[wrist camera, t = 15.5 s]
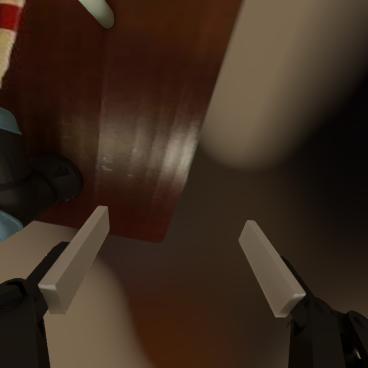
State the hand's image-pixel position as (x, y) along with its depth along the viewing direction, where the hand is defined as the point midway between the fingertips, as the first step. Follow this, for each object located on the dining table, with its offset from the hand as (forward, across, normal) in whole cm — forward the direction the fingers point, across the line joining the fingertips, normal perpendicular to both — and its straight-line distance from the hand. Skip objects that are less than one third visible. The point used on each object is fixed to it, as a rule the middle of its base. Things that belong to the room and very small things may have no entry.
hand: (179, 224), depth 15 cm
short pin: (+35, -19, +25) cm, 47 cm away
